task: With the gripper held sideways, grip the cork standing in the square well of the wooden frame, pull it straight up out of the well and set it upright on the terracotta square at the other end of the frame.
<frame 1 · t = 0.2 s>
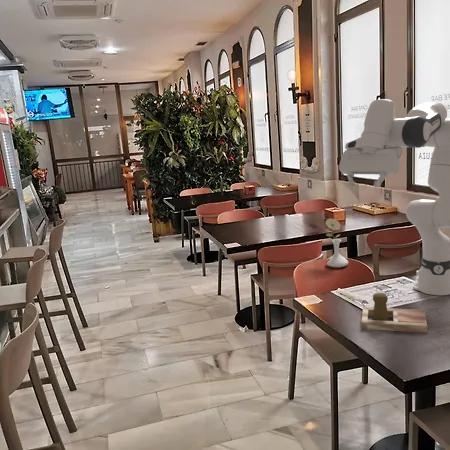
hand: (363, 186, 147), 54 cm above the table, tool tilted 25°, fingers open, 8 cm apart
wooden frame: (393, 322, 168), on the table
flower in vase: (336, 265, 237), on the table
cork: (380, 322, 170), resting in wooden frame
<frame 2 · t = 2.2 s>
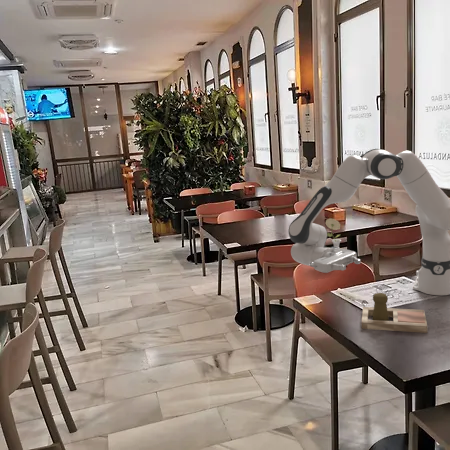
hand: (352, 264, 174), 20 cm above the table, tool horizontal, fingers open, 8 cm apart
nothing on the table moved.
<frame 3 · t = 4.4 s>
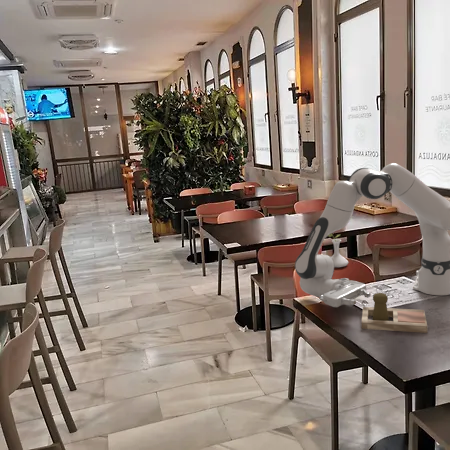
hand: (362, 299, 174), 7 cm above the table, tool horizontal, fingers open, 8 cm apart
nothing on the table moved.
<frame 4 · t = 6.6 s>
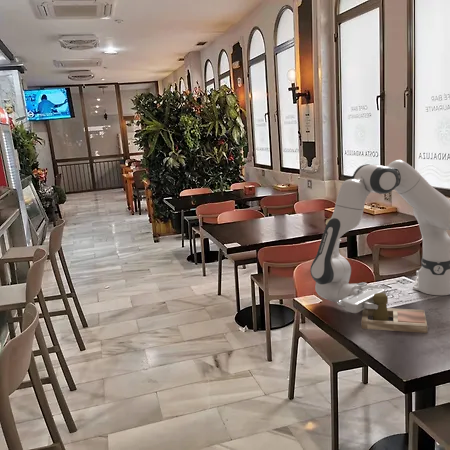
hand: (382, 304, 167), 7 cm above the table, tool horizontal, fingers closed on cork, 4 cm apart
cork: (380, 322, 170), resting in wooden frame, touching gripper
everything else where it was.
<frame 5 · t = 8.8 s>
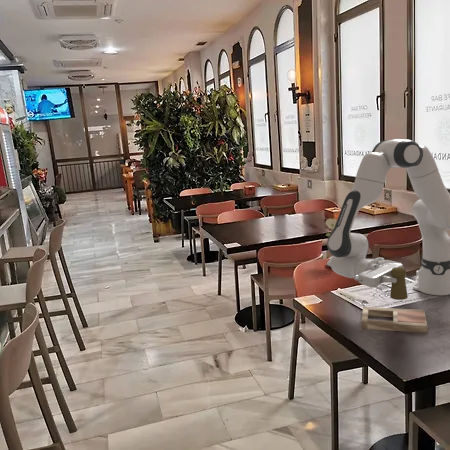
hand: (401, 278, 163), 17 cm above the table, tool horizontal, fingers closed on cork, 4 cm apart
cork: (398, 297, 165), point 10 cm above the table, touching gripper
everything else where it was.
when the fingers open (11 cm above the table, at t = 10.9 s): cork stays where it is, resting on wooden frame.
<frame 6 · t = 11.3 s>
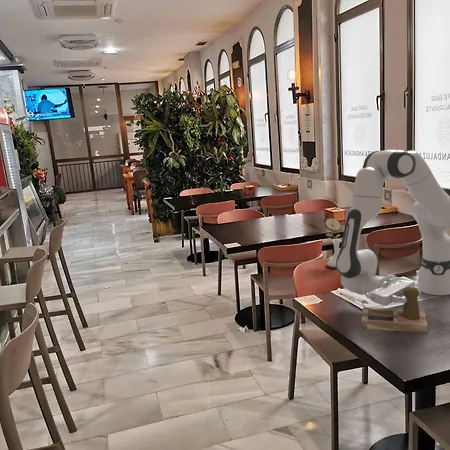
hand: (413, 296, 163), 11 cm above the table, tool horizontal, fingers open, 8 cm apart
cork: (411, 316, 166), point 3 cm above the table, touching wooden frame
everything else where it was.
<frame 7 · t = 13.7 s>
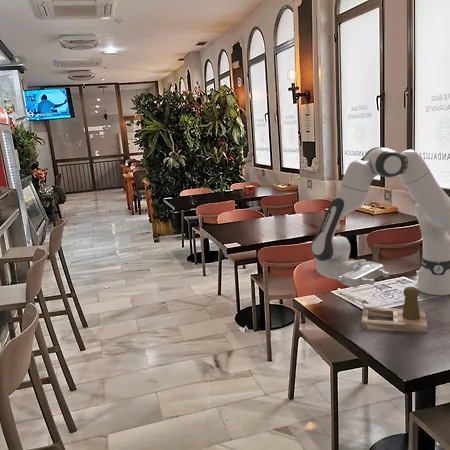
hand: (380, 278, 173), 14 cm above the table, tool horizontal, fingers open, 8 cm apart
nothing on the table moved.
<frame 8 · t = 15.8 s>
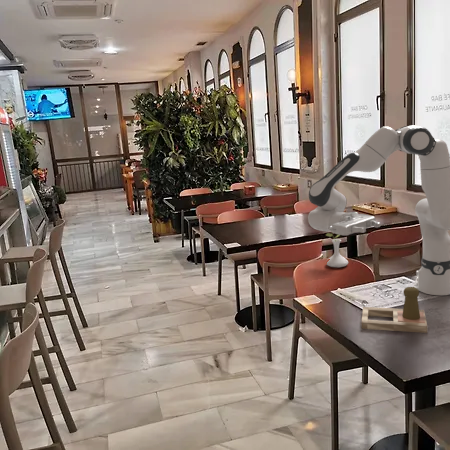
hand: (372, 227, 172), 34 cm above the table, tool horizontal, fingers open, 8 cm apart
nothing on the table moved.
at the end: cork inside the target area (0.1 cm from its centre), point 2.5 cm above the table; cork tilted 0°; the gripper is holding nothing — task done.
